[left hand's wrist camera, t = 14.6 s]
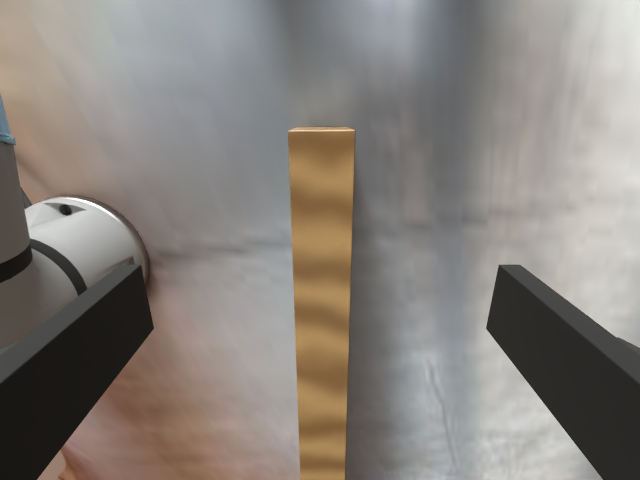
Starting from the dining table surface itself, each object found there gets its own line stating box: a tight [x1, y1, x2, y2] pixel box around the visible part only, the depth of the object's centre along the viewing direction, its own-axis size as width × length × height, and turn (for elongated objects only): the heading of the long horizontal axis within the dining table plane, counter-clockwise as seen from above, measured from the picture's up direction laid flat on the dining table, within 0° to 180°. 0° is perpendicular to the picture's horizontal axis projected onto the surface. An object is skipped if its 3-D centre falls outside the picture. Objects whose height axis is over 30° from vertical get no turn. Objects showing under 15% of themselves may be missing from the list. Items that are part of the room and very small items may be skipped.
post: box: [288, 127, 355, 480], centre depth 45 cm, size 75×6×8 cm, turn 0°
